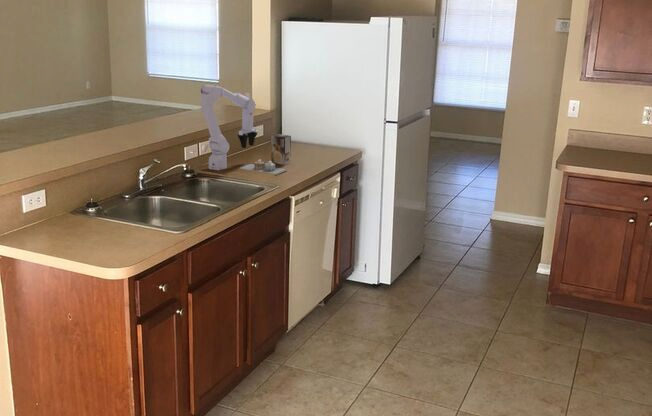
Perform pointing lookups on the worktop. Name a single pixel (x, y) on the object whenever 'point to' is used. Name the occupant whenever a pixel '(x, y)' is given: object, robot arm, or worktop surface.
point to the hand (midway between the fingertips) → (247, 146)
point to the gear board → (268, 168)
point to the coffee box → (281, 149)
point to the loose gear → (259, 165)
